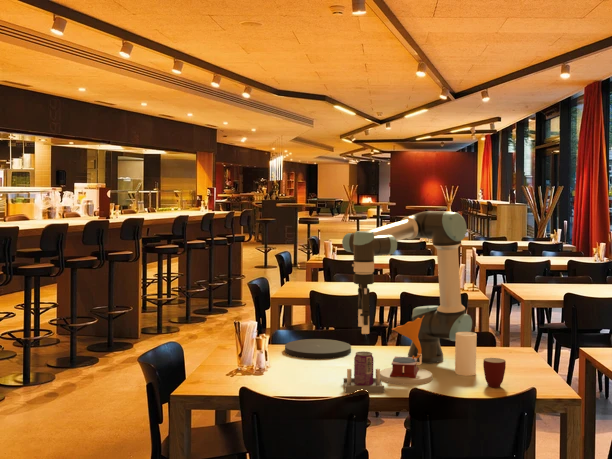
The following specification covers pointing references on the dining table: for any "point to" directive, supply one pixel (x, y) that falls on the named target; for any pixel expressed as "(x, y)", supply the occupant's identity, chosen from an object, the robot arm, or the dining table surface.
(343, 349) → the disc
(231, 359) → the dining table surface
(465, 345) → the white cylinder
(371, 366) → the beverage can
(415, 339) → the gramophone
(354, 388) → the cradle tray
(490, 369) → the mug
